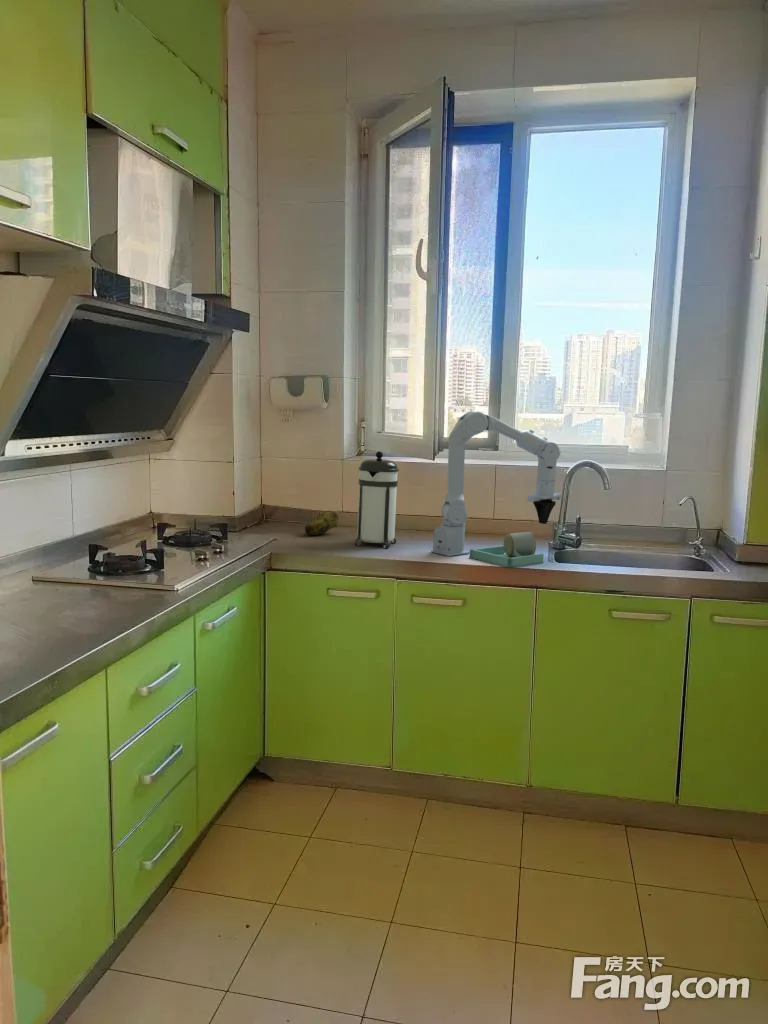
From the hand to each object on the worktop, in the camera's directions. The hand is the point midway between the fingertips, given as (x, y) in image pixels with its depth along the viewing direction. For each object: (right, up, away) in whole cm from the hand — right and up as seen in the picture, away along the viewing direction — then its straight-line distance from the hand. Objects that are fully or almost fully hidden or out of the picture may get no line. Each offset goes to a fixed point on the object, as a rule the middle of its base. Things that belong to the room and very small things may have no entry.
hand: (542, 523), depth 242 cm
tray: (-13, -11, -10) cm, 20 cm away
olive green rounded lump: (-71, -4, +20) cm, 74 cm away
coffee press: (-53, -7, +7) cm, 54 cm away
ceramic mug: (-8, -11, -6) cm, 14 cm away
